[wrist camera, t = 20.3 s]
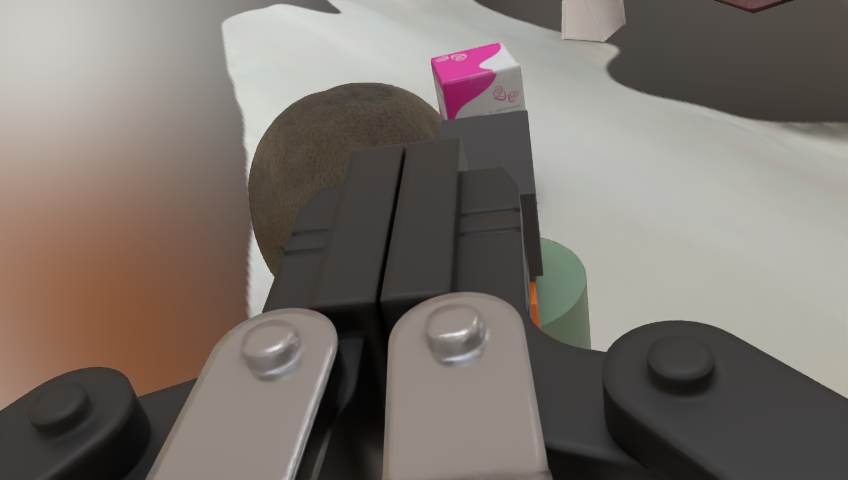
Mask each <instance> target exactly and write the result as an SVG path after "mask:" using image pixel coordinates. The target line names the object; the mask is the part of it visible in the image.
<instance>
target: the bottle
mask: <svg viewBox="0 0 848 480" xmlns="http://www.w3.org/2000/svg"><path fill="white" fill-rule="evenodd" d="M715 1H718V2H721V3H724V4H727V5H730V6H733V7H736V8H739V9H742V10H745V11H749V12H751V13H756V12H759V11H762V10H765V9H768V8H771V7H774V6H777V5H780V4H783V3H786V2H789V1H792V0H715Z"/></svg>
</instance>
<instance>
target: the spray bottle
mask: <svg viewBox="0 0 848 480" xmlns="http://www.w3.org/2000/svg"><path fill="white" fill-rule="evenodd" d="M459 136H461V138H462V141H463V145H464V150H465V155H466V162H467V168H468V171H471V170H480V169H488V168H497V167H502V168H503V169H504V170H505V171H506V172H507V173H508V174H509V175H510V176H511V177H512V179H513V180H514V181H515V182H516V183H517V184H518V186H519V194H520V203H521V211H522V219H523V227H524V236H525V244H526V252H527V261H528V269H529V279H530V282H535V285H536V294H537V303H538V312H539V321H540V329H541V330H542V331H543V332H544V333H546V334H547V335H549V336H550V337H552V338H554V339H556V340H558V341H560V342H562V343H565V344H568V345H571V346H575V347H579V348H584V349H590V350H591V340H590V325H589V311H588V296H587V281H586V272H585V268H584V266H583V264H582V262H581V261H580V259H579V258H578V257H577V256H576V255H575V254H574V253H573V252H572V251H571V250H569V249H568V248H566V247H565V246H563V245H561V244H559V243H557V242H554V241H551V240H548V239H544V238H541V237H540V232H539V221H538V211H537V201H536V190H535V180H534V171H533V161H532V151H531V142H530V132H529V122H528V112H527V110H523V111H515V112H507V113H499V114H491V115H482V116H474V117H466V118H458V119H450V120H442V121H441V130H440V139H443V138H451V137H459Z"/></svg>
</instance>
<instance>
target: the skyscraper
mask: <svg viewBox="0 0 848 480" xmlns="http://www.w3.org/2000/svg"><path fill="white" fill-rule="evenodd" d="M625 24H626V22H625V13H624V4H623V0H562V39H575V40H588V41H601V42H605V41H606V40H607V39H608V38H609V37H610V36H611V35H612V34H614V32H616V31H617V30H618V29H619V28H620V27H622V26H623V25H625Z"/></svg>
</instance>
